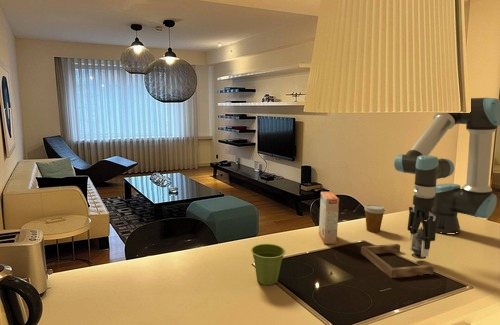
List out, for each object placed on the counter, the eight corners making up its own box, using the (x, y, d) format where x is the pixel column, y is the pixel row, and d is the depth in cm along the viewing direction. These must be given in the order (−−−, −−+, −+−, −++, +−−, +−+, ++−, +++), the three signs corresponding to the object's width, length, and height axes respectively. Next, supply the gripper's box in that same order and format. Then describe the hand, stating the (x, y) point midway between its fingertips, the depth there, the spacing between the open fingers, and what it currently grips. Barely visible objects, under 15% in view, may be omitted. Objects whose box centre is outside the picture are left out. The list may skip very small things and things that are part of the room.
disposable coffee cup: (380, 227, 182) (382, 204, 180) (385, 234, 173) (387, 210, 171) (361, 226, 183) (362, 203, 181) (365, 233, 174) (366, 209, 172)
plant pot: (254, 290, 119) (254, 258, 117) (247, 274, 130) (248, 244, 129) (288, 287, 121) (289, 256, 119) (279, 271, 133) (279, 242, 131)
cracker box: (337, 244, 159) (339, 198, 156) (323, 244, 159) (325, 198, 156) (331, 233, 173) (333, 191, 169) (318, 233, 173) (320, 191, 170)
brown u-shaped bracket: (397, 250, 153) (398, 243, 153) (433, 274, 132) (433, 266, 131) (360, 253, 150) (361, 246, 149) (391, 278, 128) (391, 270, 128)
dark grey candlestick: (428, 259, 139) (431, 230, 137) (412, 258, 140) (415, 229, 138) (424, 253, 145) (427, 225, 143) (409, 252, 146) (411, 224, 144)
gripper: (400, 190, 147) (396, 244, 151) (432, 202, 129) (426, 263, 132) (416, 189, 148) (412, 243, 152) (450, 201, 130) (444, 262, 134)
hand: (419, 252), depth 142 cm, fingers closed on dark grey candlestick, 6 cm apart
